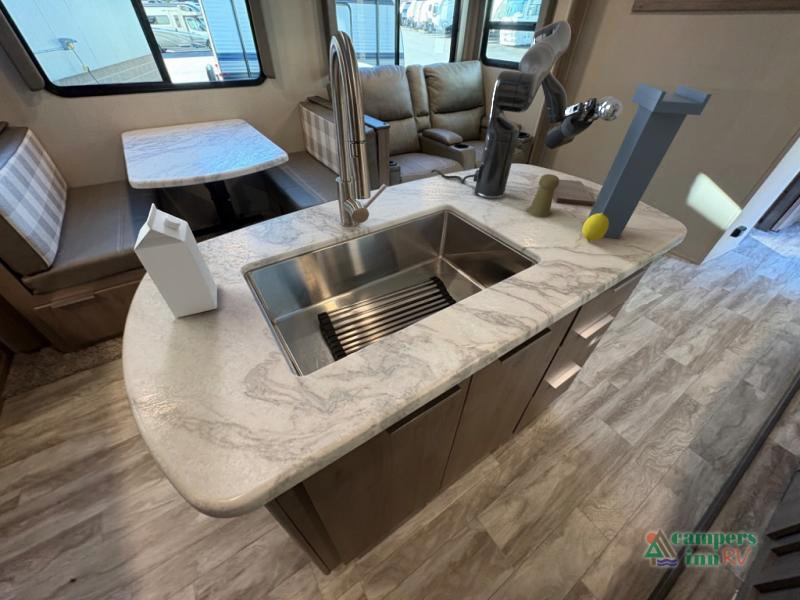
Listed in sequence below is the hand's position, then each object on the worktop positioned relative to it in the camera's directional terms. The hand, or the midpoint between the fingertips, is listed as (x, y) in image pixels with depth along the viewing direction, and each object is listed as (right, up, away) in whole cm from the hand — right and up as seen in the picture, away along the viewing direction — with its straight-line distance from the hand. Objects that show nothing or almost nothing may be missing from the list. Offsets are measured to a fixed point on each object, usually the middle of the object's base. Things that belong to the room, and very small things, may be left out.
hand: (600, 102), depth 93 cm
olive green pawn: (-16, -31, +4) cm, 35 cm away
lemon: (-8, -42, -8) cm, 43 cm away
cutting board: (-1, -21, +16) cm, 26 cm away
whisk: (0, -4, 0) cm, 4 cm away
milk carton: (-98, -58, -30) cm, 118 cm away
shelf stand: (-2, -38, -3) cm, 38 cm away
